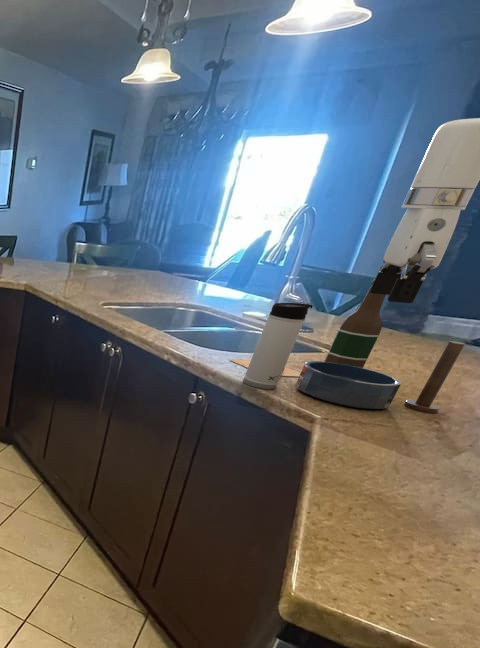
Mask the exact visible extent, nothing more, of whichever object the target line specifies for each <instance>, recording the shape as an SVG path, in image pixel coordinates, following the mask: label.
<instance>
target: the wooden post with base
mask: <svg viewBox="0 0 480 648" xmlns="http://www.w3.org/2000/svg"><path fill="white" fill-rule="evenodd" d="M465 346H466V343H464V342H460V341H453V340H449V341H448V343H447V345H446V346H445V348H444V350H443V352H442V354H441V356H440V358H439V359H438V361H437V363H436V364H435V366H434V368H433V370H432V372H431V374H430V376H429V377H428V378H427V381H426V382H425V385H424V386H423V388H422V390H421V391H420V393H419V395H418V397H417V399H407V400H405V401H404V403H403V405H404V407H406V408H408V409H411V410H414V411H417V412H421V413H426V414H437V413H439V410H440V406H438V405H436V404H433V402H434V400H435V399H436V398H437V395H438V393H439V392H440V390H441V388H442V386H443V384H444V382H445V381H446V379H447V378H448V376H449V374H450V373H451V370H452V368H453V367H454V365H455V364H456V361H457V360H458V358H459V356H460V355H461V353H462V351H463V349H464V348H465Z"/></svg>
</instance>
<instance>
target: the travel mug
mask: <svg viewBox="0 0 480 648" xmlns="http://www.w3.org/2000/svg"><path fill="white" fill-rule="evenodd" d="M309 309H313V303H299V302H276V303H274V304H273V305H272V307H271V310H270V312H269V313H268V316H267V319H266V320H265V324H264V326H263V328H262V331H261V334H260V336H259V339H258V341H257V344H256V346H255V349H254V352H253V354H252V355H251V356H252V357H251V359H250V360H249V361H250V364H249V366H248V368H246V371H245V375H244V377H243V380H242V383H244V384H245V385H247V386H249V387H252V388H256V389H260V390H274V389H276V388H277V386H278V383H279V382H280V379H281V377H282V376H281V374H282V372H283V370H284V367H286V365H287V363H288V360H289V358H290V355H291V354H292V352H293V351H292V350H293V348H294V346H295V344H296V341H297V340H298V337H299V335H300V332H301V330H302V327H303V325H304V323H305V321H306V317H307V315H308V311H309Z"/></svg>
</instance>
